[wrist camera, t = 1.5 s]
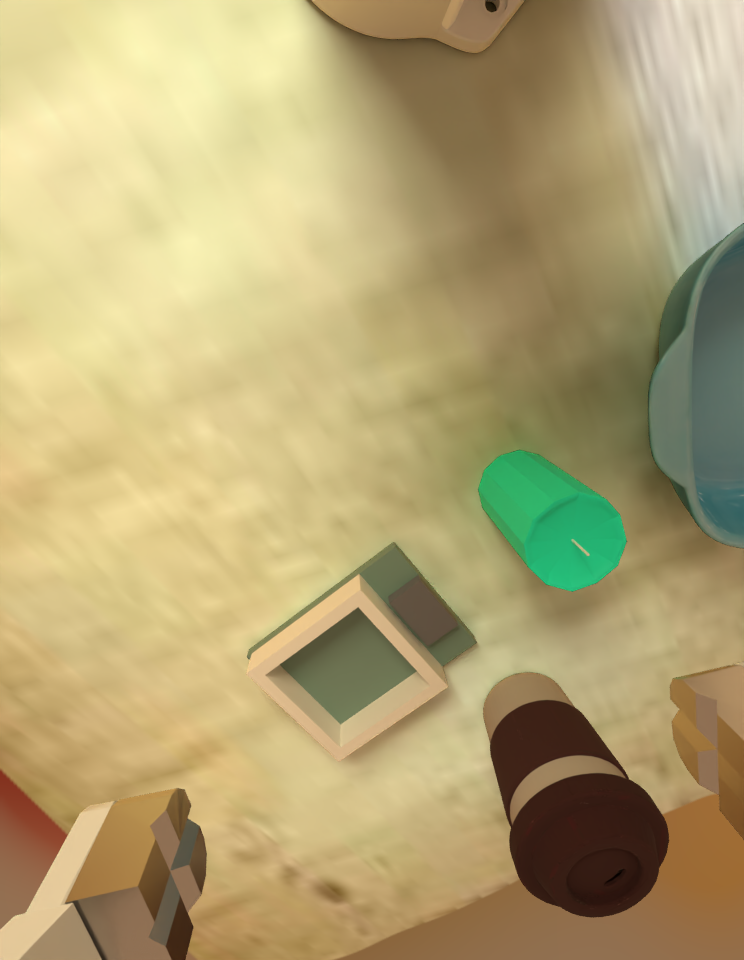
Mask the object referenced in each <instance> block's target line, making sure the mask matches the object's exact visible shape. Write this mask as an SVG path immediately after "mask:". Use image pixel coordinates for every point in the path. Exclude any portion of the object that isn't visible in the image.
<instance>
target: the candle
mask: <svg viewBox="0 0 744 960" xmlns="http://www.w3.org/2000/svg"><path fill="white" fill-rule="evenodd" d="M478 491H479V495H480V499H481V504H482V508H483V509H484V510H485V512H486V513H487V514H488V516H489V517H490V518H491V519H492V521H493V522H494V523H495V525H496V526H497V527H498V529H499V530H500V531H501V532H502V534H503V535H504V536H505V538H506V539H507V540H508V542H509V543H510V544H511V546H512V547H513V548H514V549H515V551H516V552H517V553H518V555H519V556H520V557H521V559H522V560H523V561H524V562H525V564H526V565H527V566H528V567H529V568H530V569H531V570H532V571H533V572H534V573H535V574H536V575H537V576H538V577H539V578H540V579H541V580H542V581H543V582H544V583H545V584H546V585H550V586H553V587H557V588H561V589H564V590H568V591H572V592H573V591H576V590H579V589H581V588H584V587H587V586H590V585H593V584H596V583H597V582H599V581H600V580H601V579H602V578H604V577H605V576H606V575H607V574H608V573H610V572H611V571H612V570H613V569H614V568H616V567H617V566H618V564H619V561H620V558H621V556H622V553H623V550H624V548H625V545H626V542H627V540H626V536H625V532H624V528H623V524H622V520H621V516H620V514H619V513H618V512H617V511H616V510H615V508H614V507H613V506H612V505H611V504H610V503H609V502H608V501H607V499H605V498H604V497H602V496H601V495H599V494H598V493H596V492H595V491H593V490H592V489H590V488H589V487H587V486H586V485H584V484H582V483H581V482H579V481H578V480H576V479H575V478H573V477H572V476H570V475H569V474H567V473H566V472H564V471H563V470H561V469H560V468H558V467H557V466H555V465H554V464H552V463H551V462H549V461H548V460H546V459H545V458H543V457H542V456H540V455H539V454H534V453H530V452H526V451H522V450H517V451H514V452H511V453H507V454H504V455H500V456H499V457H498V458H497V459H495V460H494V461H493V462H492V463H491V464H490V465H489V466H488V467H487V468H486V469H485V470H484V473H483V476H482V479H481V482H480V485H479V488H478Z"/></svg>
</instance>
